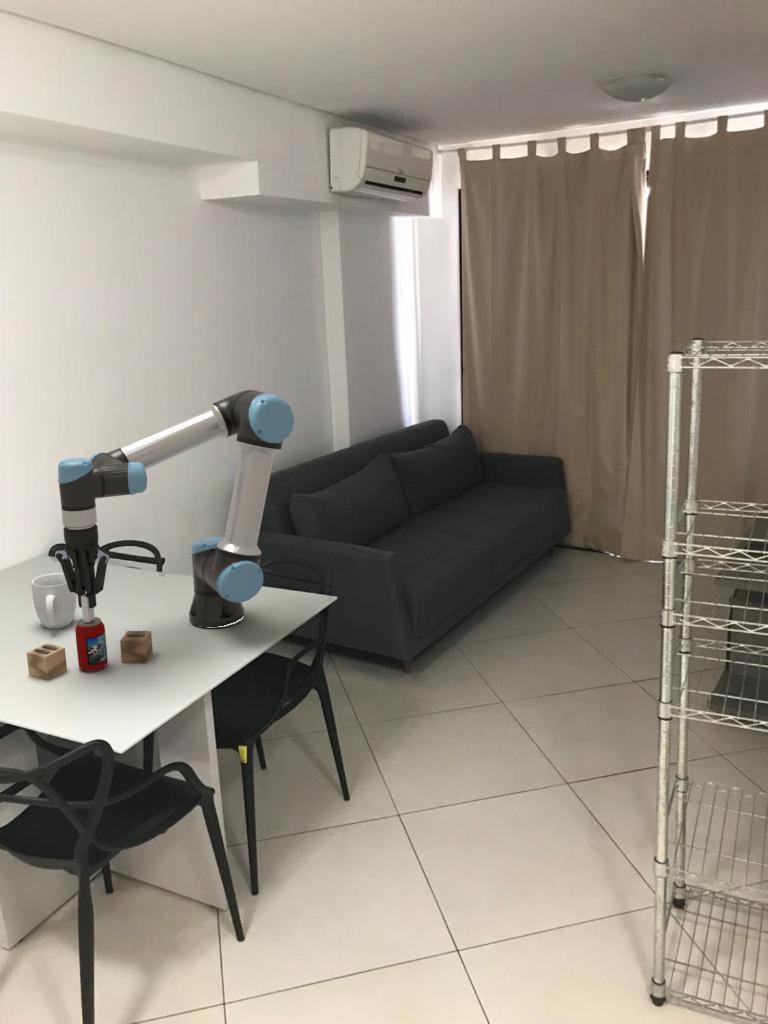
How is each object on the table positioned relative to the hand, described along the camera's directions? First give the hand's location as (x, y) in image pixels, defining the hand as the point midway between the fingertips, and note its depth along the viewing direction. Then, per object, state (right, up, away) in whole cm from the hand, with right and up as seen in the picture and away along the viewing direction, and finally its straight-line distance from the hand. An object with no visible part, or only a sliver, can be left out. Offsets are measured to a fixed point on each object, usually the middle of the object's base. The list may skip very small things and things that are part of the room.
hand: (89, 620), depth 199 cm
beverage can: (0, -12, +3) cm, 13 cm away
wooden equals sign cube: (-10, -13, 0) cm, 16 cm away
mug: (-19, -5, +28) cm, 34 cm away
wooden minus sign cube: (+9, -11, +8) cm, 16 cm away
